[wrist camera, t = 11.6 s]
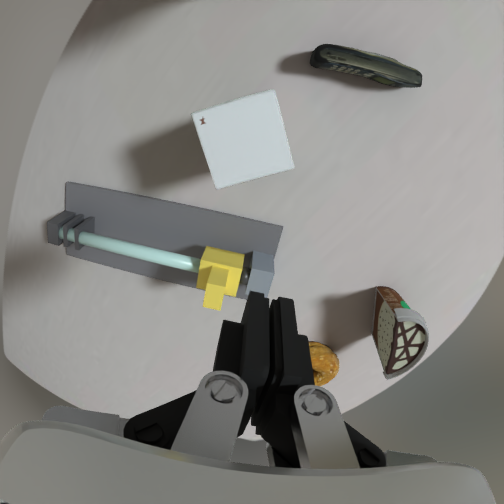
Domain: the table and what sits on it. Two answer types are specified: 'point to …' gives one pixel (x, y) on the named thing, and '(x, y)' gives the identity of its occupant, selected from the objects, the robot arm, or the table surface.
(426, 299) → the table surface
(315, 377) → the bagel
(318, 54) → the mobile phone
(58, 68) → the table surface
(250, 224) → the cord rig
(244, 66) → the table surface
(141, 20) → the table surface
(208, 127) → the supplement box
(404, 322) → the food container
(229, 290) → the sleeve
